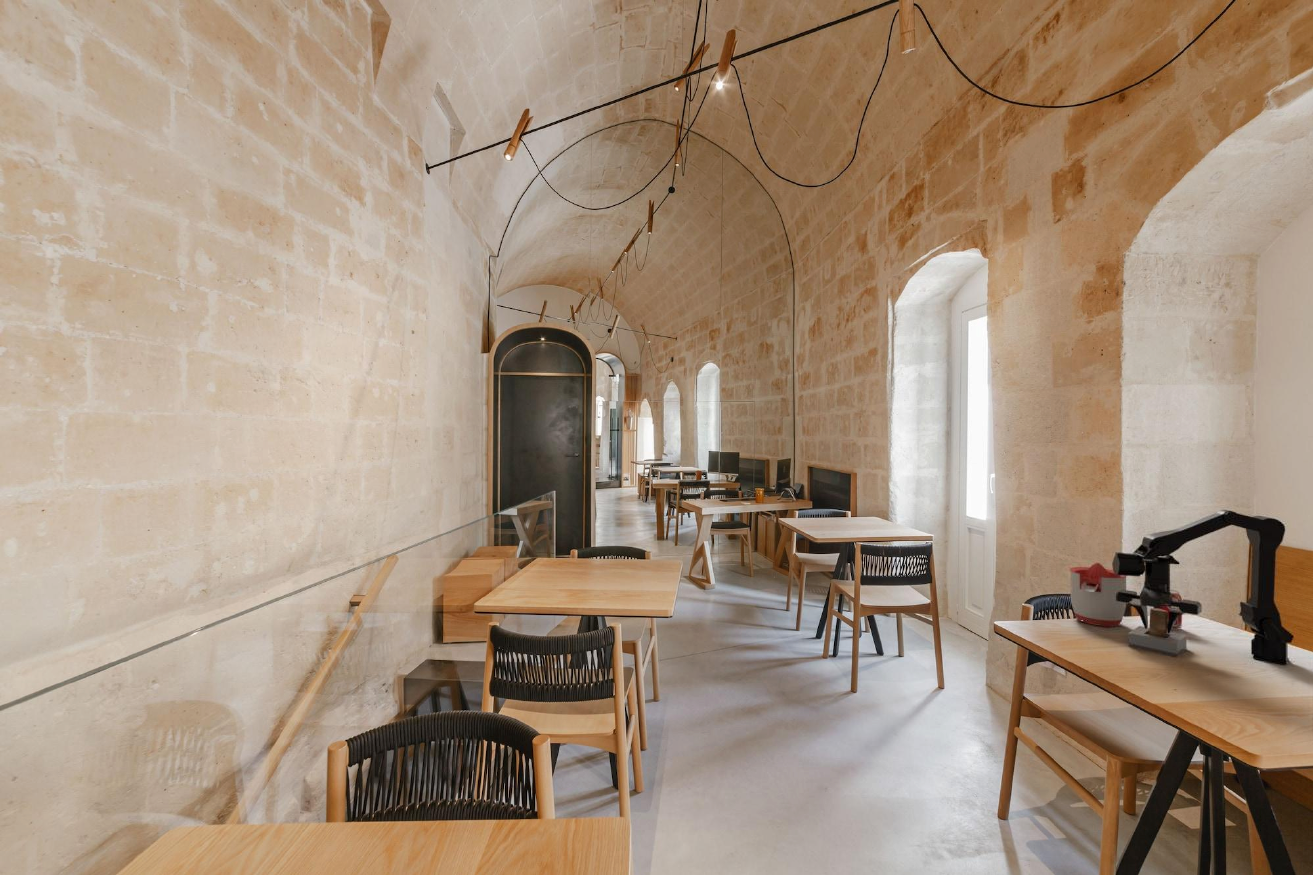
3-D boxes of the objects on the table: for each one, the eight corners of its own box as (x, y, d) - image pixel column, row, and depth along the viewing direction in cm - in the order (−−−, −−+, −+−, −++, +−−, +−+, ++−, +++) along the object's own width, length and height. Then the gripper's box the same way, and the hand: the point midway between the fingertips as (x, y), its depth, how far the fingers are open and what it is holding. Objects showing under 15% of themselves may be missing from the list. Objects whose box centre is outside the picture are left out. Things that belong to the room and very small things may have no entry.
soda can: (1160, 629, 191) (1160, 592, 192) (1149, 623, 198) (1149, 587, 198) (1186, 631, 189) (1186, 594, 189) (1174, 625, 196) (1174, 589, 196)
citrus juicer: (1060, 621, 200) (1060, 562, 200) (1078, 612, 210) (1078, 556, 211) (1117, 633, 188) (1116, 570, 188) (1133, 623, 198) (1133, 563, 198)
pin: (1168, 644, 174) (1169, 611, 174) (1164, 647, 172) (1166, 613, 172) (1150, 640, 178) (1152, 607, 177) (1147, 643, 175) (1148, 609, 175)
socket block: (1186, 648, 174) (1186, 635, 174) (1177, 657, 167) (1177, 643, 167) (1139, 638, 183) (1139, 625, 183) (1128, 646, 176) (1128, 632, 176)
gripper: (1110, 575, 177) (1110, 628, 177) (1193, 588, 163) (1193, 645, 162) (1121, 570, 184) (1121, 621, 184) (1202, 582, 169) (1202, 636, 169)
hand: (1157, 630), depth 175 cm, fingers open, 5 cm apart
